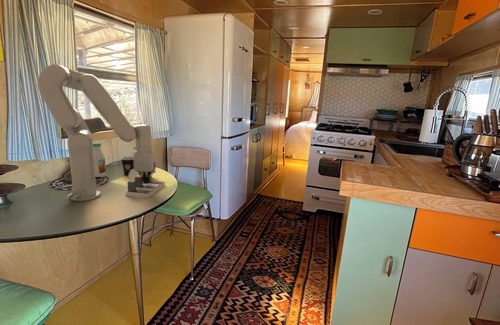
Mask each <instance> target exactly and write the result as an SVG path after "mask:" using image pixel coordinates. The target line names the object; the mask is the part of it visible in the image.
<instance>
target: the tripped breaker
mask: <svg viewBox="0 0 500 325" xmlns="http://www.w3.org/2000/svg"><path fill="white" fill-rule="evenodd" d="M135 181H136V186H142V185H143V178H142V176H141V175H137V176H135Z"/></svg>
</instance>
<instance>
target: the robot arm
mask: <svg viewBox="0 0 500 325" xmlns="http://www.w3.org/2000/svg"><path fill="white" fill-rule="evenodd" d="M37 88H38V90H39V92H38V93H39V94H40V96H41V97H42V99H43V101H44V103H45V105H46V107H47V108H48V110H49V113H51V115H52V117H53V119H54V121H55V123H56V124H57V126H59V127H60V128H61V129H63V131H64V132H65V133H66V136H67V137H68V138H67V149H68V150H67V151H68V155H69V157H68V158H69V166H70V173H71V185H72V189H71V190H70V191H71V192H70V193H69V194H66V195H65V199H66V200H72V201H75V202H85V201H90V200H94V199H98V198H99V197H100V196H101V192H100V190H97V182H96V181H97V180H96V179H97V178H95V166H94V154H93V143H94V137H93V134H92V132H91V131H90V129H89V126H88V125H87V122H86V121H85V120H84V117H83V116H82V114H81V113H80V112H79V110H77V109H76V108H75V107H74V106H73V105H72V103H71V101H70V99H69V97H68V95H67V94H66V92H65V90H64V88H68V89H71V90H75V91H79V92H82V93H83V94H84V95H85V97H86V98H87V100H88V101H90V103H91V104H92V106H93V107H94V108H95V109H96V110H97V112H98V113H99V114H100V116H101V117H102V118H103V119H104V120H105V121H106V122H107V124H108V125H109V126H110V128H111V129H112V130H113V131H114V133H115V135H117V136H118V137H119V139H120V140H121V141H122V142H126V143H130V142H132V141H134V140H135V146H133V149H134V150H135V151H134V154H133V157H134V170H135V171H136V172H138V173H140V174H141V176H142V178H143V184H147V183H149V181H150V180H149V175H150V174H152V173H153V174H155V173H156V166H157V164H156V159H155V158H156V157H155V154H154V151H153V143H152V129H151V128H152V127H151V126H150V125H149V124H146V123H145V124H131V123H130V122H129V121H128V119H127V117H125V115H124V114H123V113H122V111H121V109H120V108H119V106H118V104H117V103H116V101H115V100H114V98H112V96H111V94H110V93H109V92H108V90H107V89H106V88H105V87H104V85H103V84H102V83H101V81H100V80H99V79H98V77H96V76H95V75H94V74H92V73H91V74H89V73H85V72H80V71H77V70H74V69H71V68H68V67H65V66H63V65H61V64H58V63H57V64H56V63H54V64H53V63H51V64H50V65H47V66H45V67H44V68H43V69H42V70H41V72H40V74H39V75H38V79H37Z"/></svg>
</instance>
